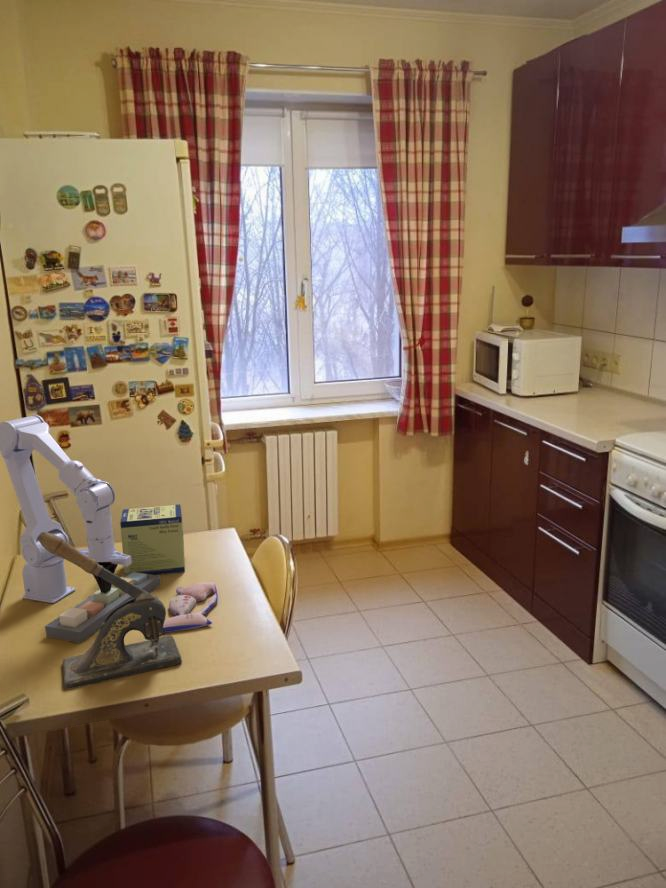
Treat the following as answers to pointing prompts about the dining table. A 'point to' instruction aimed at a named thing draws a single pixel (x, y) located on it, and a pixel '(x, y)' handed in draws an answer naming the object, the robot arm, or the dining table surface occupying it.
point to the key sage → (106, 596)
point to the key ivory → (73, 617)
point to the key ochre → (127, 581)
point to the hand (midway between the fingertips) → (106, 590)
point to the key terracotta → (92, 607)
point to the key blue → (137, 577)
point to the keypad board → (96, 620)
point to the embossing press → (116, 629)
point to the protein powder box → (153, 539)
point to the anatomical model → (190, 607)
